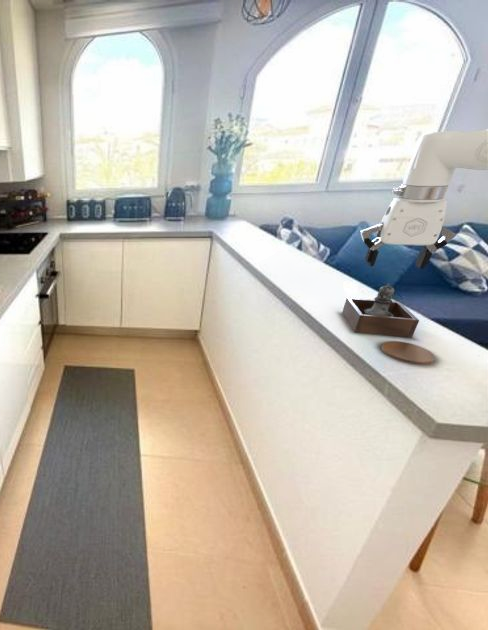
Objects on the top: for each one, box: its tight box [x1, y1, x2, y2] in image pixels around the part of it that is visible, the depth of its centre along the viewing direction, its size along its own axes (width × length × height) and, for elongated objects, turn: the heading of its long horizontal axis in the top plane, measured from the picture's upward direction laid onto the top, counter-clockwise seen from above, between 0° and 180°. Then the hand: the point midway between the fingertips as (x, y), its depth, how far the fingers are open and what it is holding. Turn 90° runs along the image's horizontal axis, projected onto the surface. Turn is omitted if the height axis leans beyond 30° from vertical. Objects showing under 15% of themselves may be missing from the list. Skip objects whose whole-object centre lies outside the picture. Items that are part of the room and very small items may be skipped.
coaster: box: [380, 340, 436, 365], centre depth 79 cm, size 9×9×1 cm
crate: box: [341, 297, 420, 339], centre depth 91 cm, size 12×12×5 cm
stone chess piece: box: [364, 282, 395, 317], centre depth 89 cm, size 6×6×12 cm
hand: (393, 265), depth 85 cm, fingers open, 9 cm apart
